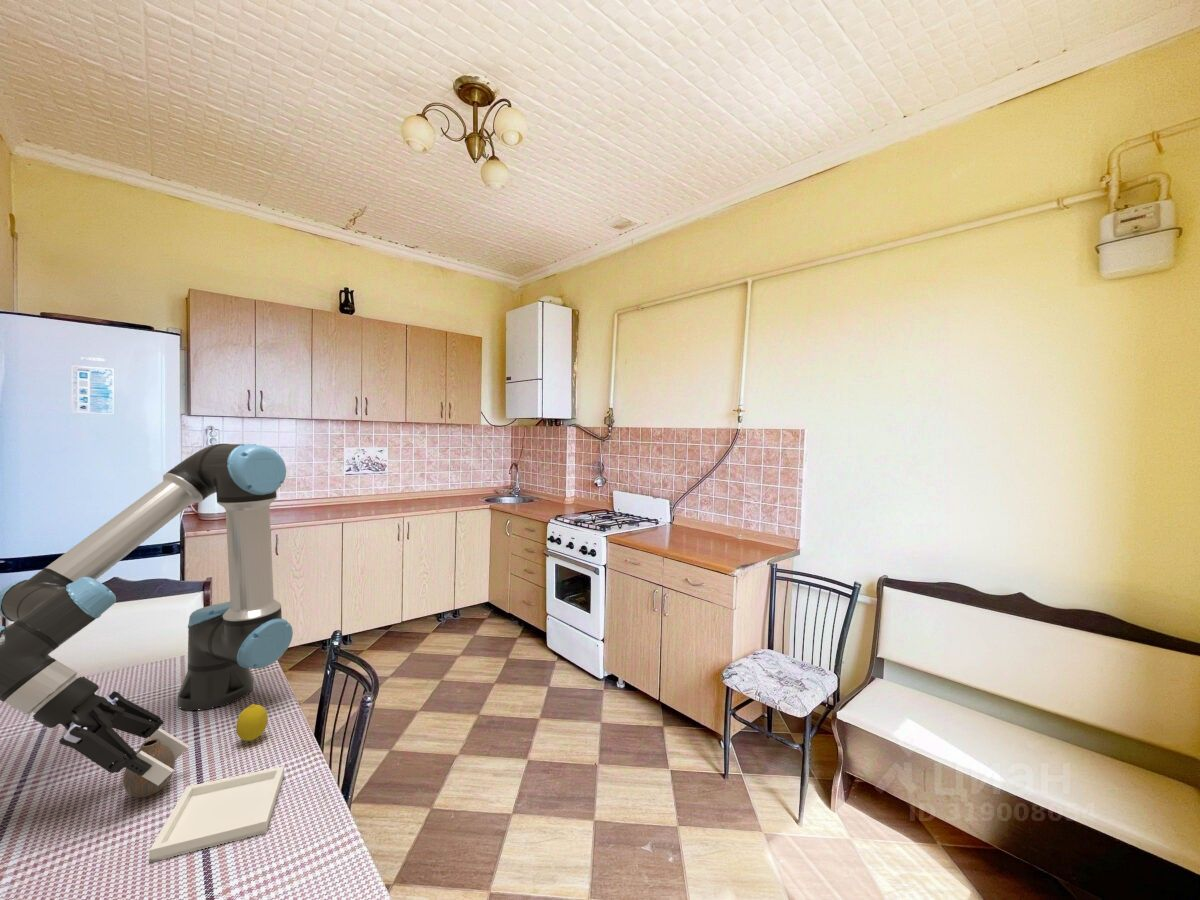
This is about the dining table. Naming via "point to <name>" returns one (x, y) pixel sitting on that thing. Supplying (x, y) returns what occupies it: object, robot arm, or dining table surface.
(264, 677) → the dining table surface
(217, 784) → the holder tray
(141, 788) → the vase
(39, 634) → the robot arm
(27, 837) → the dining table surface
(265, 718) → the lemon
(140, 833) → the dining table surface
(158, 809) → the dining table surface
